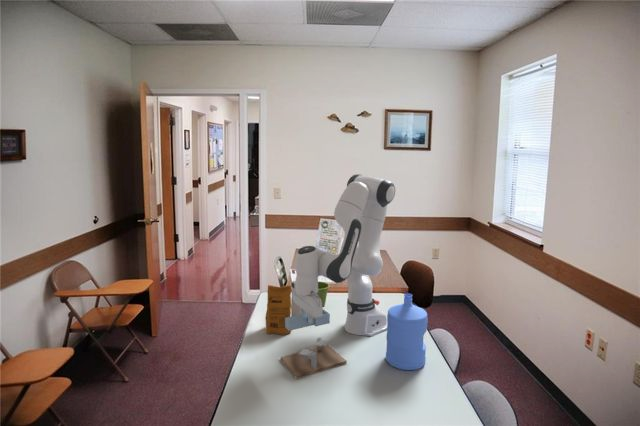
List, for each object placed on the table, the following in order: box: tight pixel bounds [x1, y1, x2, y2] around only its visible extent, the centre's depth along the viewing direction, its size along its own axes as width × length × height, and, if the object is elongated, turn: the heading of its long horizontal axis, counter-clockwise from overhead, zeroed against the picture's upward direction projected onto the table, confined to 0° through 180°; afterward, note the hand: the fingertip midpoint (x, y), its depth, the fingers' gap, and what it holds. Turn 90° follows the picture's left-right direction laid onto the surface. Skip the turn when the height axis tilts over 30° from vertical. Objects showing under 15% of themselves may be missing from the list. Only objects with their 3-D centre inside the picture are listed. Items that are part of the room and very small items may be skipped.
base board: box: [279, 344, 347, 379], centre depth 172 cm, size 22×15×1 cm
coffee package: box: [265, 284, 292, 336], centre depth 198 cm, size 10×12×22 cm
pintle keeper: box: [299, 337, 323, 369], centre depth 171 cm, size 16×6×6 cm, turn 157°
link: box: [285, 308, 331, 331], centre depth 172 cm, size 17×6×4 cm, turn 119°
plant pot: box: [316, 281, 330, 308], centre depth 227 cm, size 12×12×11 cm
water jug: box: [385, 293, 428, 371], centre depth 171 cm, size 16×16×28 cm
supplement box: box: [291, 296, 301, 316], centre depth 210 cm, size 7×7×13 cm
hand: (306, 320), depth 173 cm, fingers closed on link, 3 cm apart
